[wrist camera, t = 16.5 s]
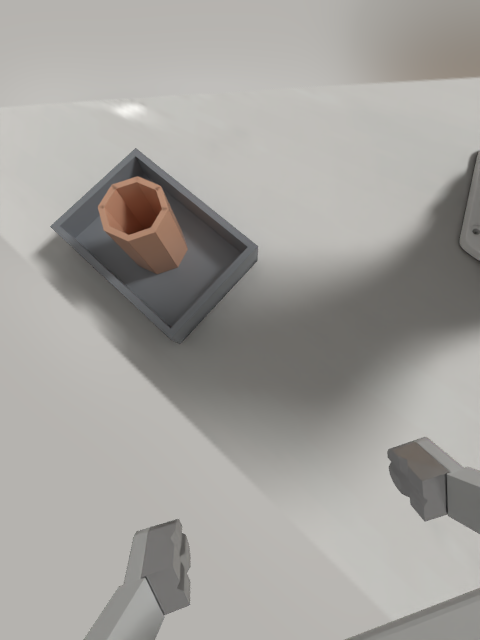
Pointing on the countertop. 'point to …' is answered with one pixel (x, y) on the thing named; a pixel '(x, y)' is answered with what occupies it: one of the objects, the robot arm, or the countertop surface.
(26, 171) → the countertop surface
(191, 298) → the tray
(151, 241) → the cup
